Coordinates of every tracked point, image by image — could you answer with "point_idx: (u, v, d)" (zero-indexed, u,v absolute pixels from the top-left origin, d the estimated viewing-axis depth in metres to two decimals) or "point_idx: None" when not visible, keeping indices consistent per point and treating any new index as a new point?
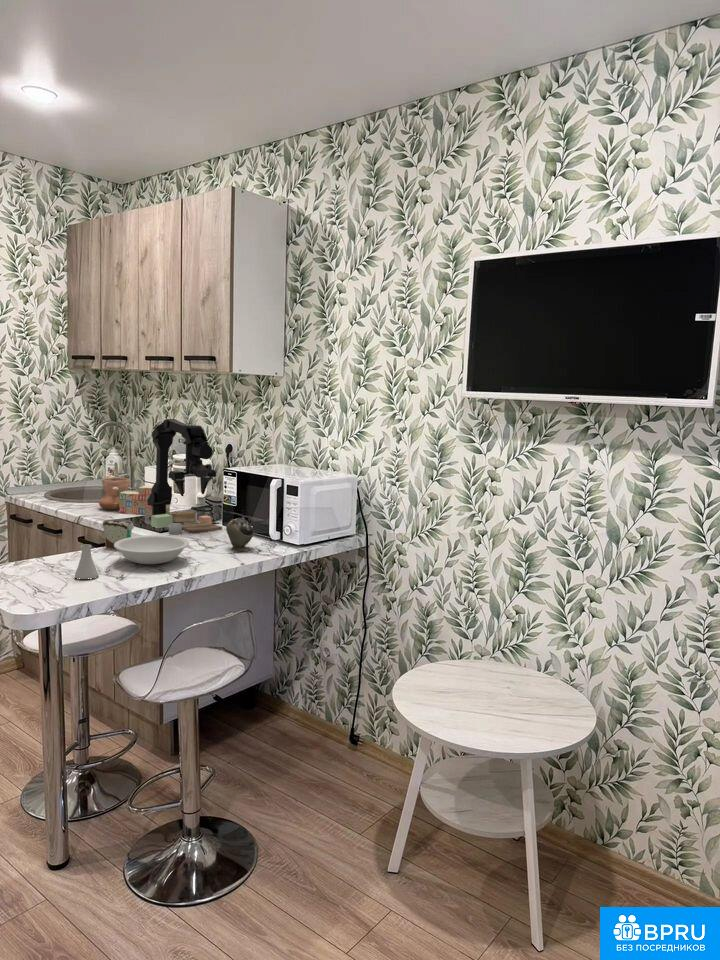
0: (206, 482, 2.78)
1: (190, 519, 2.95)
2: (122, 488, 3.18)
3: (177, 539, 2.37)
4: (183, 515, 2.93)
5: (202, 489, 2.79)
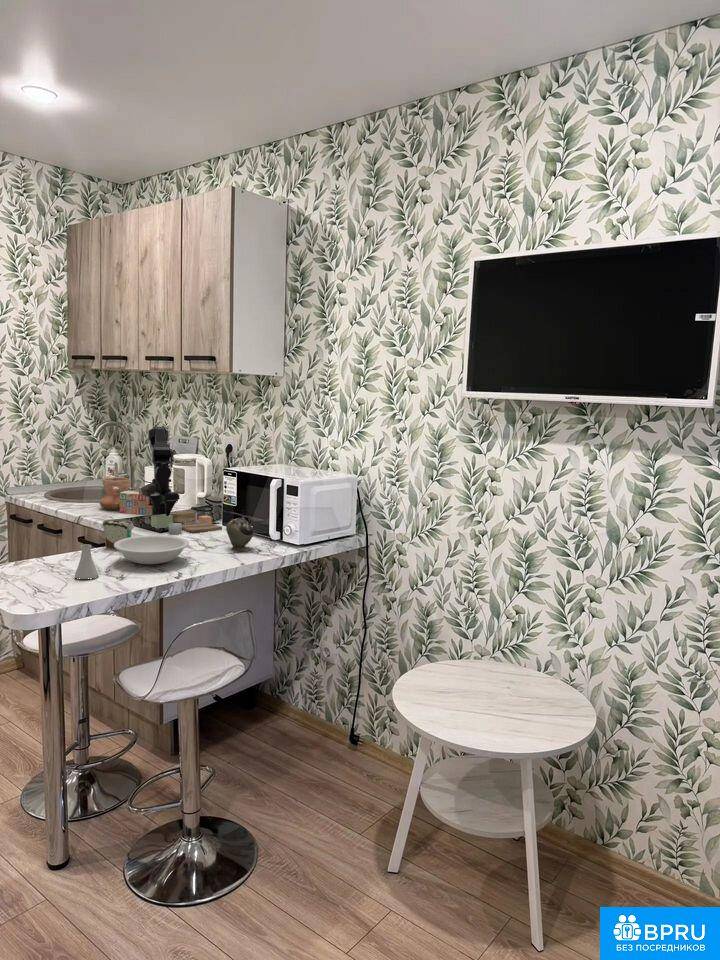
0: (165, 504, 2.76)
1: (190, 519, 2.96)
2: (123, 488, 3.19)
3: (177, 539, 2.37)
4: (184, 515, 2.93)
5: None
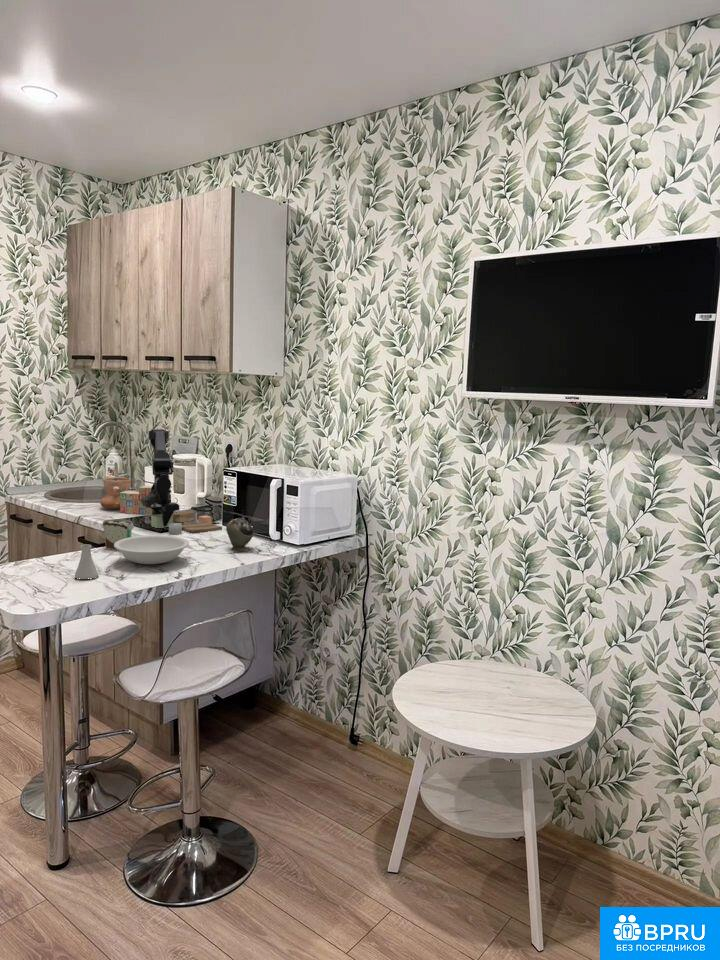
0: (162, 514, 2.78)
1: (190, 519, 2.96)
2: (123, 488, 3.19)
3: (177, 539, 2.37)
4: (185, 515, 2.93)
5: None
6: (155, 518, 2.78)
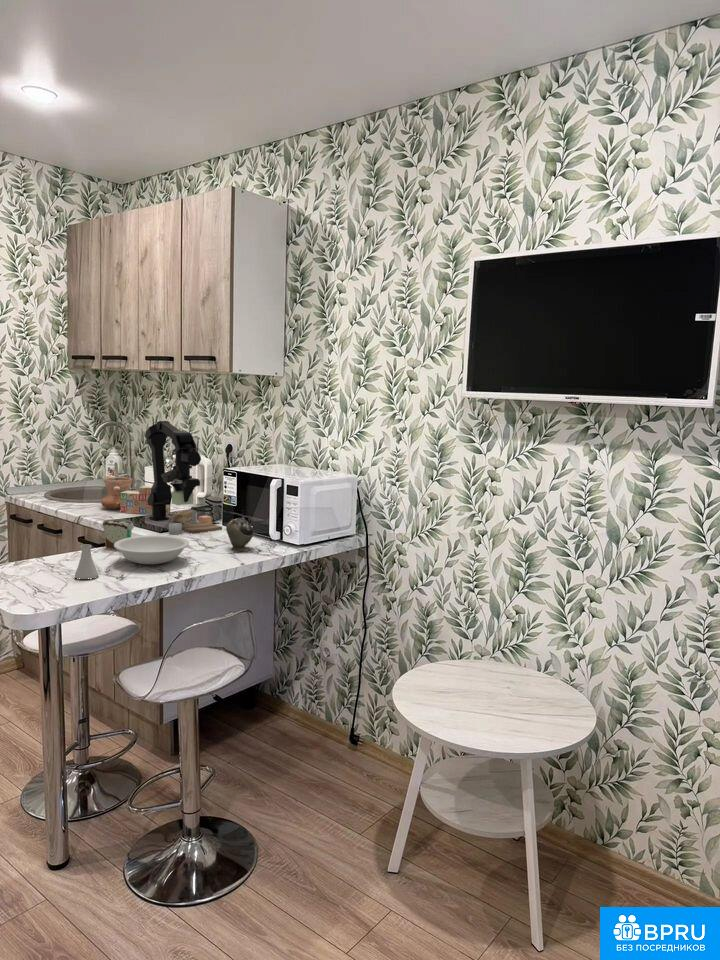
0: (183, 490, 2.76)
1: (189, 518, 2.97)
2: (125, 488, 3.19)
3: (177, 539, 2.37)
4: (186, 515, 2.94)
5: None
6: (176, 494, 2.76)
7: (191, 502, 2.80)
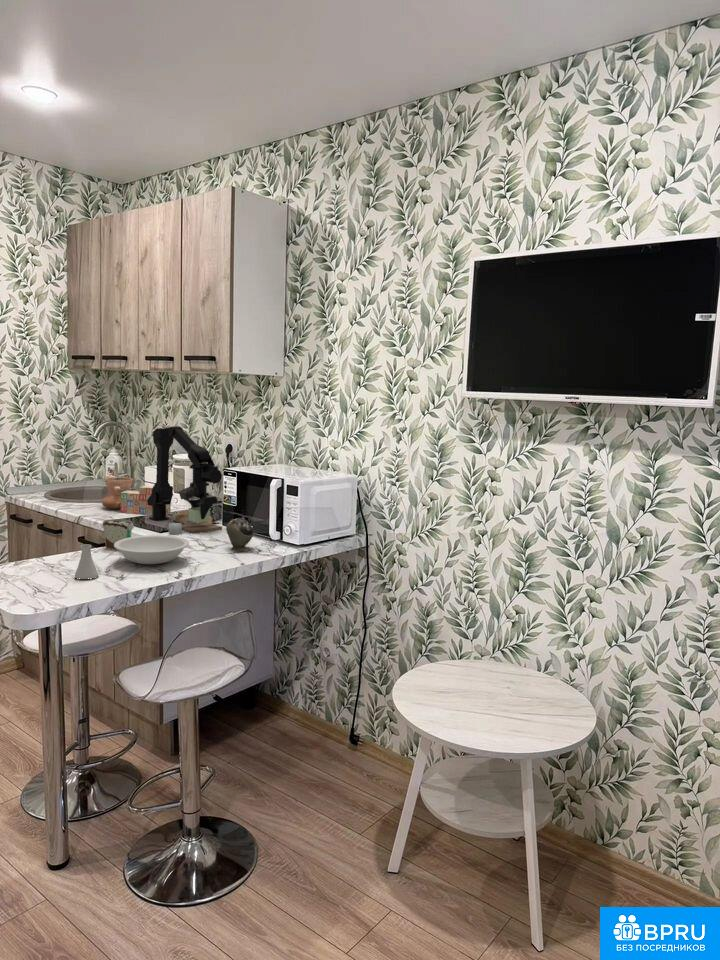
0: (200, 507, 2.77)
1: None
2: (125, 488, 3.20)
3: (177, 539, 2.37)
4: (187, 515, 2.94)
5: None
6: (193, 511, 2.77)
7: (208, 519, 2.81)
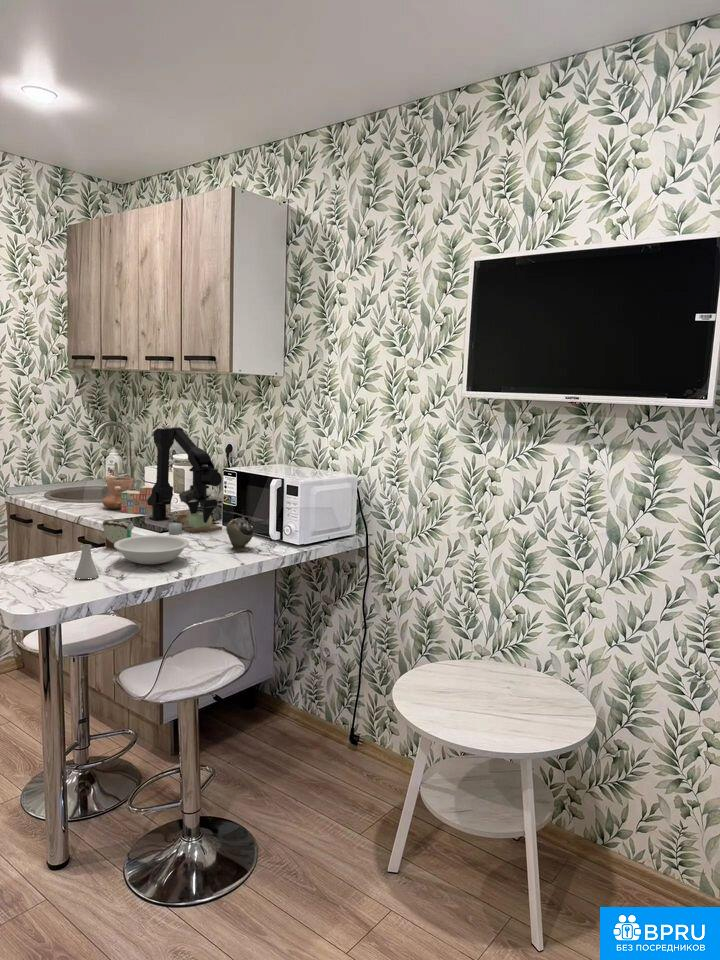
0: (203, 511, 2.76)
1: (188, 518, 2.98)
2: (126, 487, 3.20)
3: (177, 539, 2.37)
4: (187, 515, 2.94)
5: None
6: (193, 517, 2.78)
7: (208, 524, 2.81)
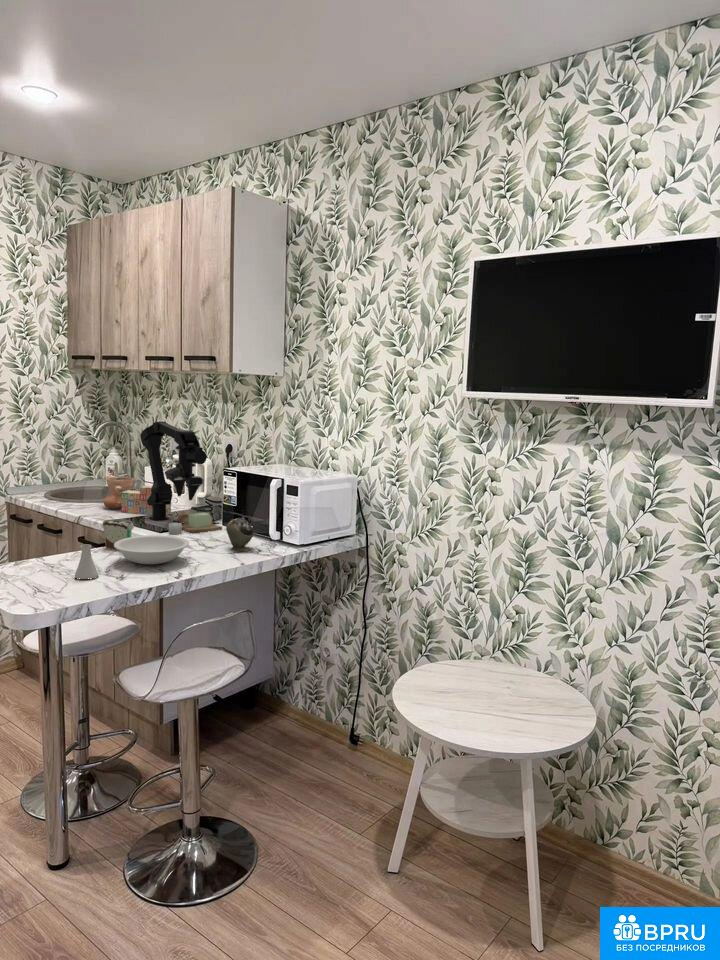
0: (188, 488, 2.79)
1: None
2: (127, 487, 3.21)
3: (177, 539, 2.37)
4: (187, 514, 2.95)
5: None
6: (193, 517, 2.78)
7: (208, 524, 2.81)
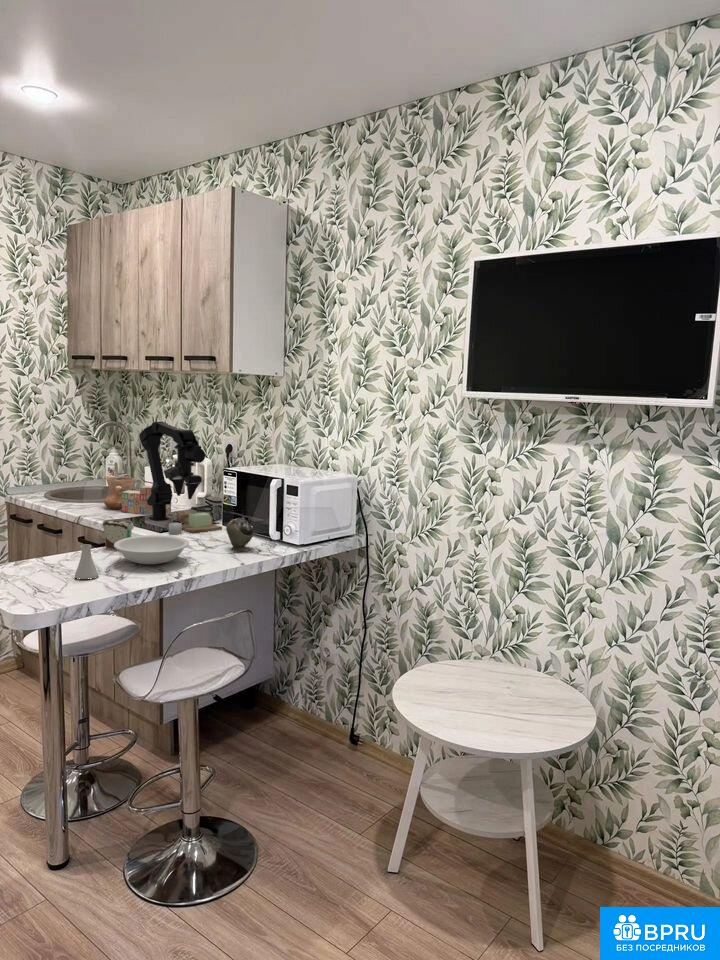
0: (187, 487, 2.80)
1: None
2: (128, 487, 3.21)
3: (177, 539, 2.37)
4: None
5: None
6: (193, 517, 2.78)
7: (208, 524, 2.81)
